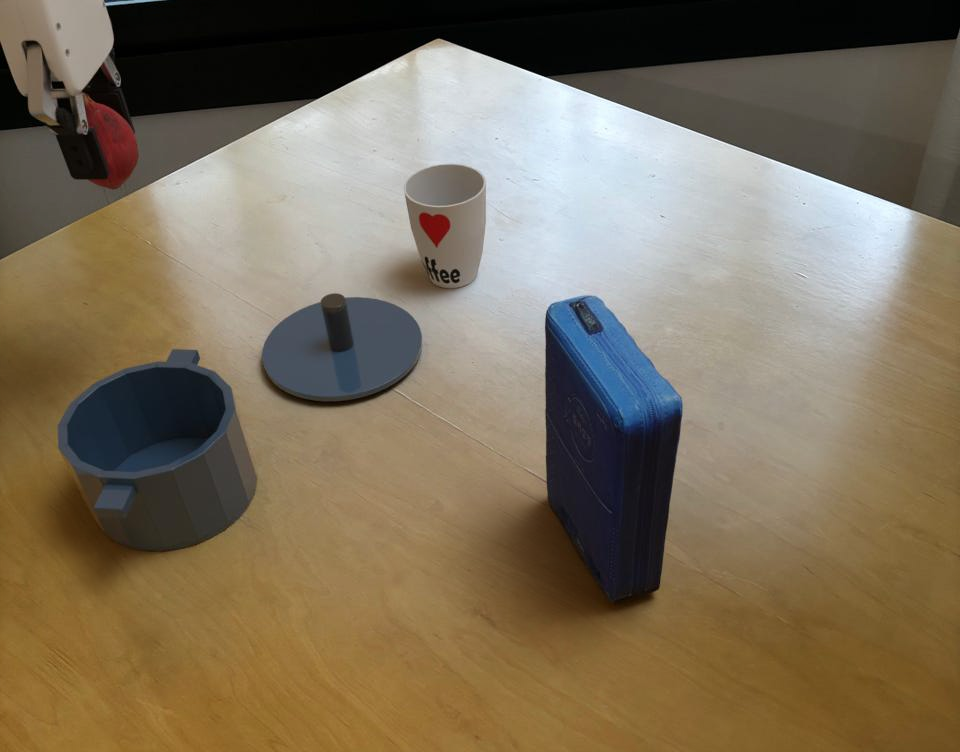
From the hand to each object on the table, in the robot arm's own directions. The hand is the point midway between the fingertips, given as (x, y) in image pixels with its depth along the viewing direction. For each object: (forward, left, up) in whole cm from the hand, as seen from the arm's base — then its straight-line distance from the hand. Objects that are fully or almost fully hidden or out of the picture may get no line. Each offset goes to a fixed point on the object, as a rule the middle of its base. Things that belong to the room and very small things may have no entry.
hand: (104, 154), depth 90 cm
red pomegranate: (0, 0, -3) cm, 3 cm away
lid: (+17, +2, -21) cm, 27 cm away
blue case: (+44, -22, -22) cm, 53 cm away
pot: (+6, -18, -21) cm, 28 cm away
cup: (+26, +16, -22) cm, 37 cm away
